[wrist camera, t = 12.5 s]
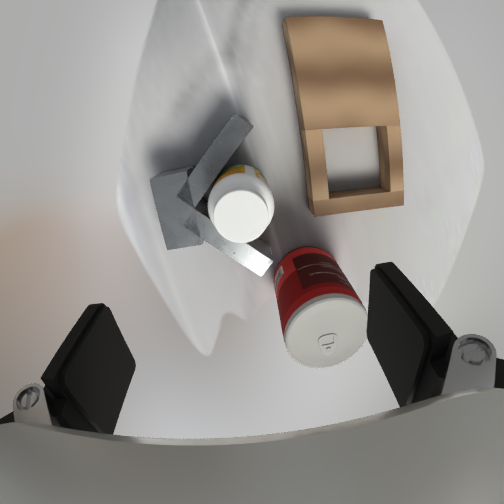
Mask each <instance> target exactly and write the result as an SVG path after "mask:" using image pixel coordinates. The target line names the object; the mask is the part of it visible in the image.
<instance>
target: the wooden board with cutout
mask: <svg viewBox="0 0 504 504" xmlns="http://www.w3.org/2000/svg"><path fill="white" fill-rule="evenodd" d="M282 27H283V32H284V37H285V42H286V47H287V53H288V58H289V64H290V69H291V75H292V81H293V87H294V93H295V99H296V106H297V113H298V119H299V126H300V134H301V141H302V149H303V157H304V165H305V173H306V182H307V191H308V201H309V210H310V211H311V213H312V214H313V215H314V217H317V216H324V215H332V214H339V213H346V212H354V211H362V210H369V209H377V208H385V207H393V206H402V205H404V184H403V157H402V141H401V129H400V119H399V110H398V101H397V94H396V87H395V80H394V74H393V68H392V63H391V58H390V52H389V48H388V43H387V38H386V34H385V30H384V25H383V21H382V20H375V19H365V18H352V17H329V16H301V17H285V19H284V22H283V24H282ZM364 126H376V127H377V137H378V148H379V162H380V181H381V187H374V188H365V189H355V190H347V191H338V192H330V193H329V191H328V180H327V170H326V160H325V151H324V142H323V134H322V129H329V128H344V127H364Z"/></svg>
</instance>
